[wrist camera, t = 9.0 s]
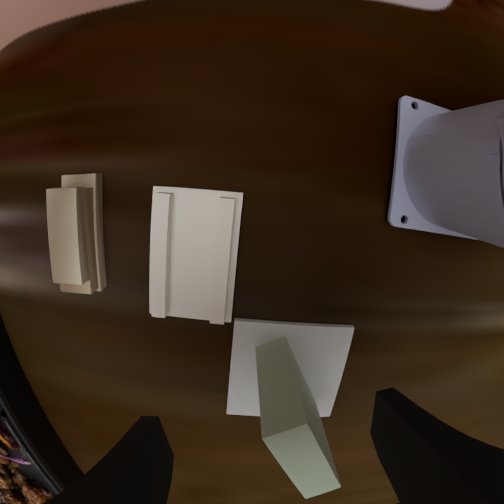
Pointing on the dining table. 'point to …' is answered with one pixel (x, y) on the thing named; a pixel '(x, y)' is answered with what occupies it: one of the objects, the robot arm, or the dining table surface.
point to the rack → (193, 252)
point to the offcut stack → (77, 233)
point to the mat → (305, 351)
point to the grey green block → (293, 420)
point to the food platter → (28, 439)
